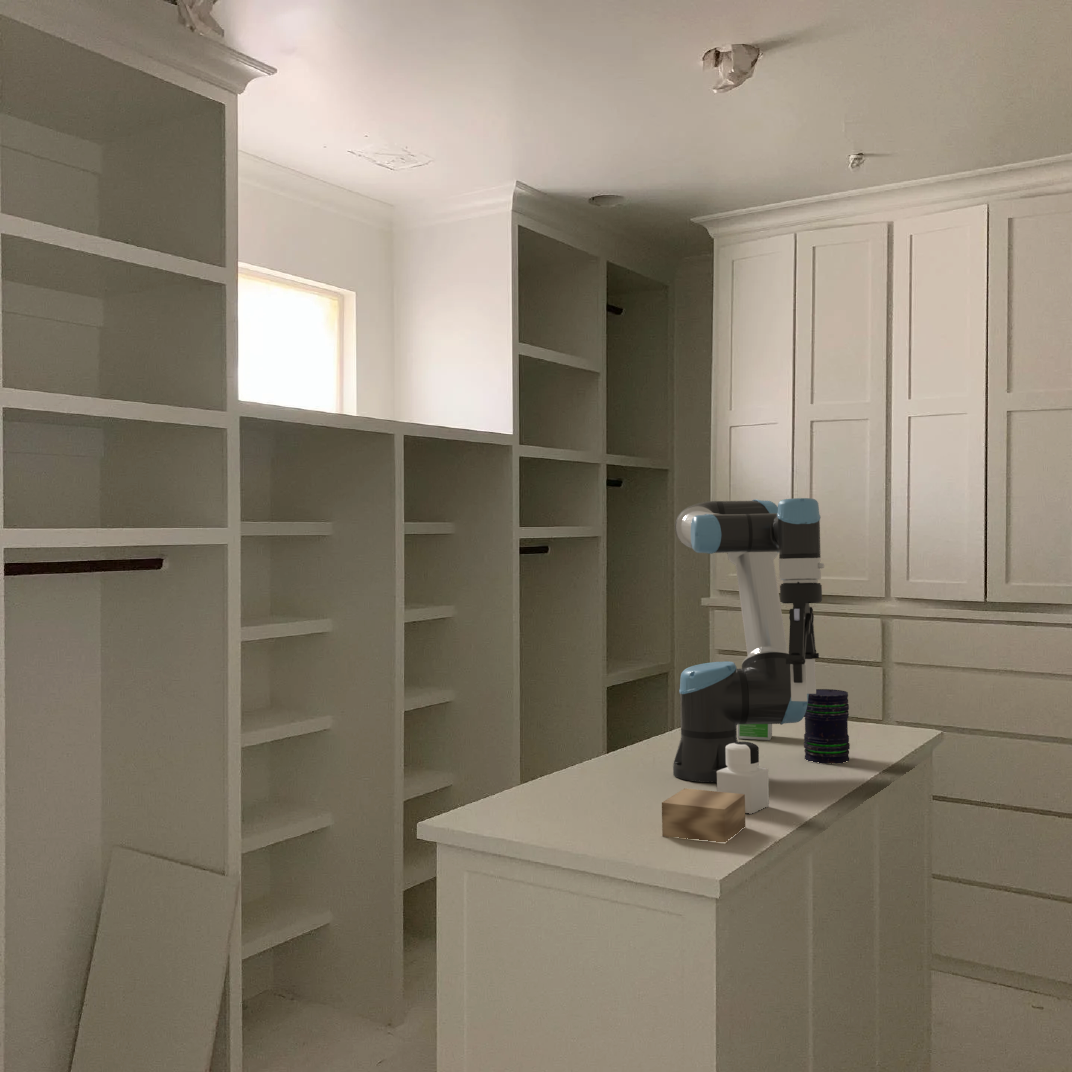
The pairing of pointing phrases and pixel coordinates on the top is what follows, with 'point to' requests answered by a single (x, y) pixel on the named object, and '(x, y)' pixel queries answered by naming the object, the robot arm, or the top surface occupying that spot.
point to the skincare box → (754, 731)
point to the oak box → (703, 815)
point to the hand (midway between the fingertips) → (804, 697)
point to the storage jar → (827, 727)
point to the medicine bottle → (745, 776)
